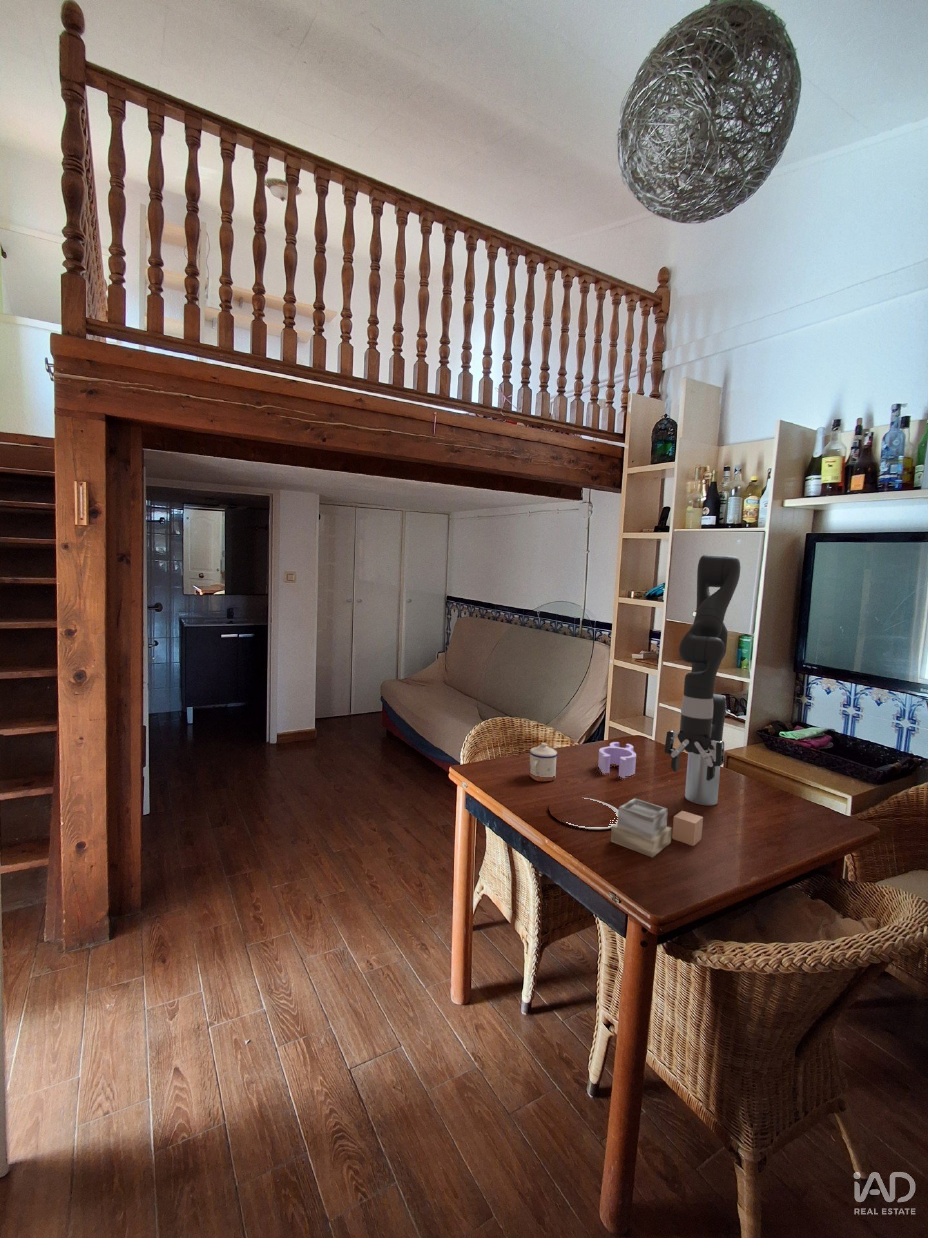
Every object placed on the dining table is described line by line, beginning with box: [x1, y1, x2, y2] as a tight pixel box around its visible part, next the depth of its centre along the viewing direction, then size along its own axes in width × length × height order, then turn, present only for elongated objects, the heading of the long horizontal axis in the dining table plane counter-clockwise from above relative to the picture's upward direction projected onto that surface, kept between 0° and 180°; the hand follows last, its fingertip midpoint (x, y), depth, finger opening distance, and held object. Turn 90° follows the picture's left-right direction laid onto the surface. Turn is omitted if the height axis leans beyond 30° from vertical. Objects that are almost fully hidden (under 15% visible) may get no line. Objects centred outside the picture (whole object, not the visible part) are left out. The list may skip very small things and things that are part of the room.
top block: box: [671, 810, 704, 847], centre depth 145 cm, size 6×6×6 cm
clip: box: [597, 741, 637, 779], centre depth 197 cm, size 20×12×7 cm, turn 156°
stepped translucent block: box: [610, 797, 673, 859], centre depth 142 cm, size 11×11×9 cm
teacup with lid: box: [528, 742, 558, 777], centre depth 183 cm, size 12×9×12 cm
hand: (691, 775), depth 144 cm, fingers open, 8 cm apart
